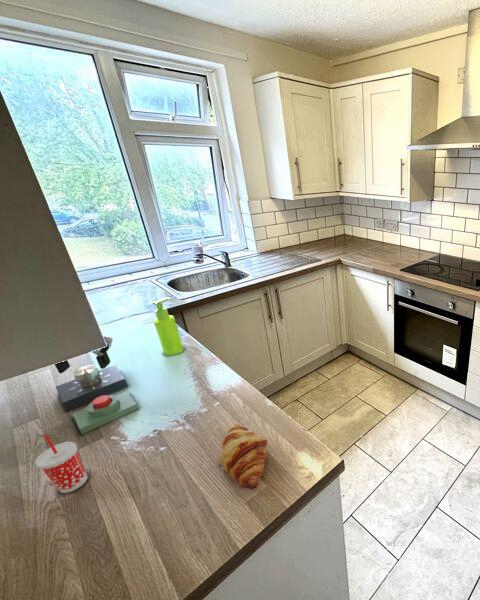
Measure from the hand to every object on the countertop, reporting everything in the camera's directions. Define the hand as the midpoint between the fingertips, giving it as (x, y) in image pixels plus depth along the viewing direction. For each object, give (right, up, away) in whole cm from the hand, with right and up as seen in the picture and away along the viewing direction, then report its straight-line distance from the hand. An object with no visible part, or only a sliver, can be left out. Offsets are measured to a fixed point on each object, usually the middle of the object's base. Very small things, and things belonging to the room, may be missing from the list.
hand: (85, 368), depth 90 cm
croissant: (+50, -19, -13) cm, 55 cm away
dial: (-6, -6, +8) cm, 12 cm away
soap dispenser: (+4, 0, +30) cm, 30 cm away
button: (+6, -10, -1) cm, 11 cm away
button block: (+6, -13, +1) cm, 14 cm away
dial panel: (-6, -9, +9) cm, 14 cm away
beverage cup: (+15, -21, -19) cm, 32 cm away
